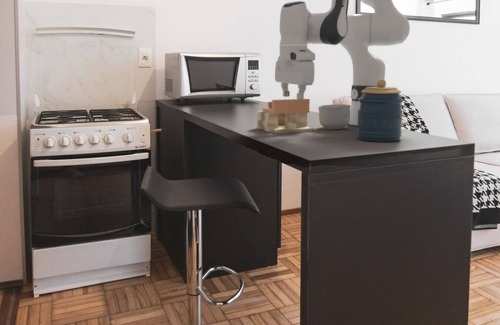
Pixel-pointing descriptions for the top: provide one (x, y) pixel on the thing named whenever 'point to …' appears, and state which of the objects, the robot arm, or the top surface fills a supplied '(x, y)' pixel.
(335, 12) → the robot arm
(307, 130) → the wooden block stack
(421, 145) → the top surface
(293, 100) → the orange angled block
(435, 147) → the top surface
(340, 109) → the teacup
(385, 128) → the canister
